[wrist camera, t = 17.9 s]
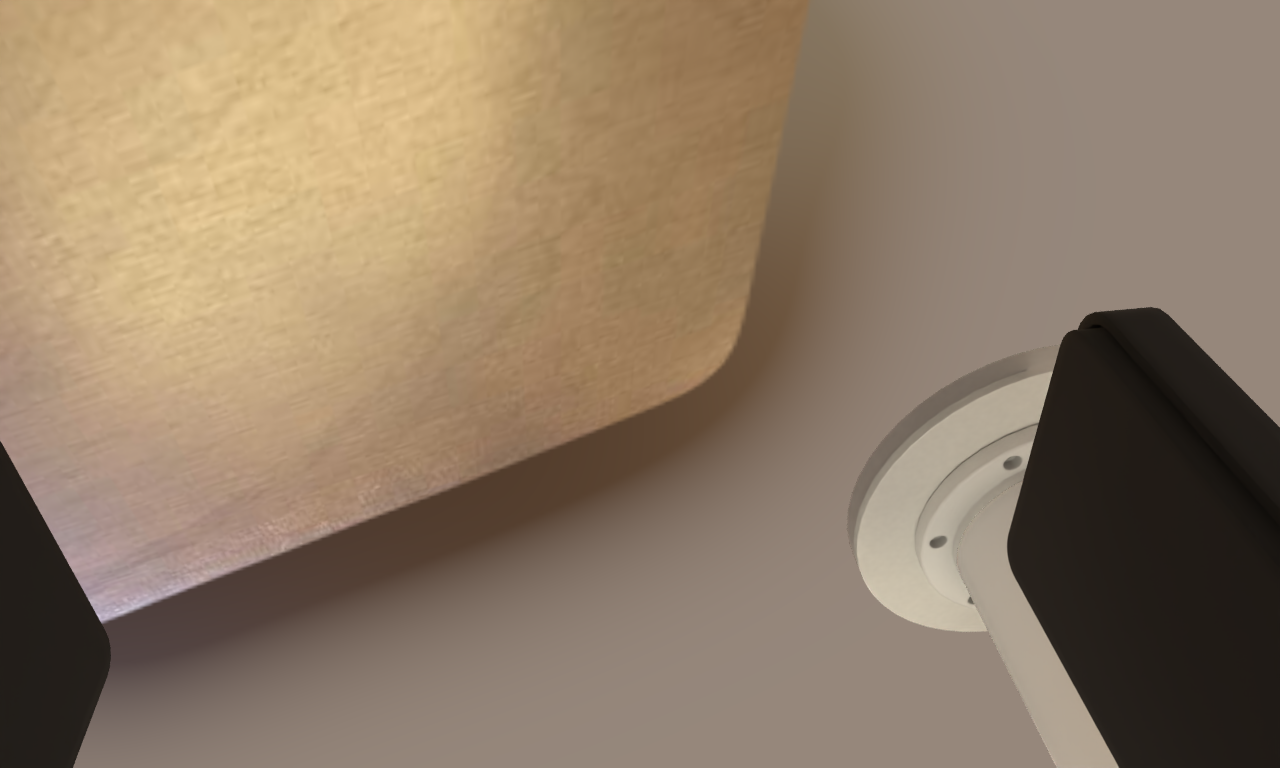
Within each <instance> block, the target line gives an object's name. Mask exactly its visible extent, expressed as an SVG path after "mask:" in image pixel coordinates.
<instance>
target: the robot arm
mask: <svg viewBox="0 0 1280 768" xmlns="http://www.w3.org/2000/svg"><path fill="white" fill-rule="evenodd" d="M915 551H916V554H917V557H918V560H919V564H920V566H921V568H922V570H923V572H924V574H925V576H926V578H927V580H928V582H929V583H930V584H931V586H932V587H933V588H934V589H935V590H936V591H937V592H938V593H939V594H940V595H942V596H944V597H945V598H947V599H949V600H950V601H952V602H954V603H957V604H960V605H962V606H965V607H969V608H974V609H977V610H978V612H979V614H980V616H981V618H982V620H983V622H984V624H985V626H986V628H987V630H988V632H989V634H990V636H991V638H992V640H993V642H994V644H995V646H996V648H997V650H998V652H999V654H1000V656H1001V658H1002V660H1003V662H1004V664H1005V666H1006V668H1007V670H1008V672H1009V674H1010V676H1011V678H1012V680H1013V682H1014V684H1015V686H1016V688H1017V690H1018V692H1019V694H1020V696H1021V698H1022V700H1023V702H1024V704H1025V706H1026V708H1027V710H1028V712H1029V714H1030V716H1031V718H1032V720H1033V722H1034V724H1035V726H1036V728H1037V730H1038V732H1039V734H1040V736H1041V738H1042V740H1043V742H1044V744H1045V746H1046V748H1047V750H1048V752H1049V754H1050V756H1051V758H1052V759H1053V762H1054V764H1055V766H1056V768H1280V427H1278V425H1277V424H1276V423H1275V422H1274V421H1273V420H1272V419H1271V418H1270V417H1269V416H1267V414H1266V413H1265V412H1264V411H1263V410H1262V409H1261V408H1260V407H1259V406H1258V405H1257V404H1256V403H1255V402H1254V401H1253V400H1252V399H1251V398H1250V397H1249V396H1248V395H1247V394H1246V393H1245V392H1244V391H1243V390H1242V389H1241V388H1240V387H1239V386H1238V385H1237V384H1236V383H1235V382H1234V381H1233V380H1232V379H1231V378H1230V377H1229V376H1228V375H1227V374H1226V373H1225V372H1224V371H1223V370H1222V369H1221V368H1220V367H1219V366H1218V365H1217V364H1216V363H1215V362H1214V361H1213V360H1212V359H1211V358H1210V357H1209V356H1208V355H1207V354H1206V353H1205V352H1204V351H1203V350H1202V349H1201V348H1200V347H1199V346H1198V345H1197V344H1196V343H1195V342H1194V340H1193V339H1192V338H1190V337H1189V335H1187V333H1186V332H1184V330H1182V328H1180V326H1179V325H1178V324H1177V323H1176V322H1175V321H1174V320H1173V319H1172V318H1171V317H1170V316H1169V315H1168V314H1166V313H1165V312H1163V311H1162V310H1161V309H1158V308H1152V307H1148V308H1137V309H1126V310H1115V311H1104V312H1094V313H1092V314H1090V315H1087V316H1086V317H1085V318H1084V319H1083V321H1082V322H1081V323H1080V326H1079V328H1078V330H1073V331H1070V332H1068V333H1067V334H1066V335H1065V337H1064V338H1063V340H1062V343H1061V345H1060V348H1059V352H1058V356H1057V359H1056V363H1055V367H1054V370H1053V374H1052V377H1051V381H1050V385H1049V388H1048V392H1047V396H1046V399H1045V403H1044V407H1043V410H1042V414H1041V417H1040V421H1039V424H1038V425H1034V426H1030V427H1027V428H1025V429H1022V430H1020V431H1017V432H1015V433H1012V434H1010V435H1007V436H1005V437H1003V438H1001V439H999V440H998V441H996V442H994V443H992V444H990V445H988V446H987V447H985V448H983V449H981V450H980V451H979V452H977V453H976V454H974V455H973V456H972V457H970V458H969V459H967V460H966V461H965V462H963V463H962V464H961V465H960V466H959V467H958V468H956V469H955V470H954V471H953V472H952V473H951V474H950V475H949V476H948V477H947V478H946V479H945V480H944V481H943V482H942V483H941V485H940V486H939V487H938V489H937V490H936V491H935V492H934V494H933V495H932V496H931V498H930V499H929V501H928V502H927V504H926V506H925V508H924V510H923V512H922V514H921V516H920V519H919V522H918V526H917V530H916V534H915ZM110 659H111V654H110V643H109V638H108V636H107V633H106V631H105V629H104V627H103V626H102V624H101V622H100V620H99V618H98V617H97V615H96V613H95V611H94V609H93V607H92V606H91V604H90V602H89V600H88V598H87V597H86V595H85V593H84V591H83V589H82V588H81V586H80V584H79V582H78V580H77V579H76V577H75V575H74V573H73V571H72V569H71V568H70V566H69V564H68V562H67V560H66V559H65V557H64V555H63V553H62V551H61V550H60V548H59V546H58V544H57V542H56V540H55V539H54V537H53V535H52V533H51V531H50V530H49V528H48V526H47V524H46V522H45V521H44V519H43V517H42V515H41V513H40V512H39V510H38V508H37V506H36V504H35V502H34V501H33V499H32V497H31V495H30V493H29V492H28V490H27V488H26V486H25V484H24V483H23V481H22V479H21V477H20V475H19V473H18V472H17V470H16V468H15V466H14V464H13V463H12V461H11V459H10V457H9V455H8V454H7V452H6V450H5V448H4V446H3V445H2V443H1V442H0V768H73V765H74V763H75V760H76V758H77V755H78V752H79V750H80V747H81V744H82V741H83V739H84V736H85V734H86V731H87V728H88V726H89V723H90V721H91V718H92V715H93V713H94V710H95V707H96V705H97V702H98V699H99V697H100V694H101V691H102V689H103V686H104V684H105V681H106V678H107V675H108V671H109V668H110Z"/></svg>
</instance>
